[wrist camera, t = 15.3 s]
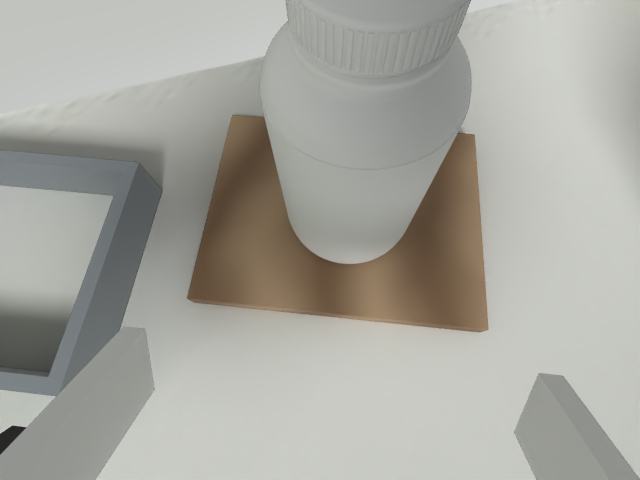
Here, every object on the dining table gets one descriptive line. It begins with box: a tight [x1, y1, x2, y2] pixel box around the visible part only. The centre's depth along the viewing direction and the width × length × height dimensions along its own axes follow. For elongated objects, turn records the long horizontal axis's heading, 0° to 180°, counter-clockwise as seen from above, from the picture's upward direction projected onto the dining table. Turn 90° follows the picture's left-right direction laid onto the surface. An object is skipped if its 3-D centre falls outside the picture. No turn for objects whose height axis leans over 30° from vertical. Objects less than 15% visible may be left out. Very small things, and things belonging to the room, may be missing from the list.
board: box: [187, 115, 488, 332], centre depth 24 cm, size 18×14×1 cm
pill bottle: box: [260, 0, 471, 264], centre depth 16 cm, size 8×8×15 cm
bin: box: [0, 150, 162, 396], centre depth 22 cm, size 14×14×4 cm
